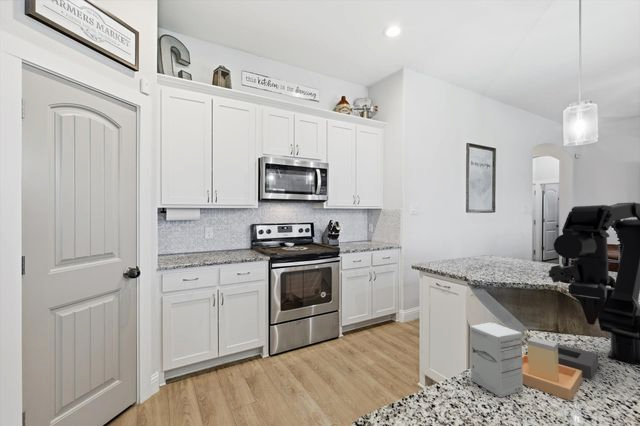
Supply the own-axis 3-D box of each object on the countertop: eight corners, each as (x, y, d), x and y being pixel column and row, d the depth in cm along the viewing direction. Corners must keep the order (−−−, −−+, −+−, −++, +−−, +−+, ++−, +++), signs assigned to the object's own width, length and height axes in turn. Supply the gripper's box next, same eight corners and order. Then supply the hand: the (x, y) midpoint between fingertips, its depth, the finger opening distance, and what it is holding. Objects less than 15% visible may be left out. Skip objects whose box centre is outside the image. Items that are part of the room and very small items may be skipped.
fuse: (532, 370, 70) (531, 336, 71) (559, 379, 67) (557, 343, 67) (528, 374, 69) (527, 340, 69) (555, 383, 65) (554, 346, 65)
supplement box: (470, 381, 67) (468, 325, 68) (493, 374, 70) (491, 321, 70) (499, 399, 60) (497, 336, 61) (524, 391, 63) (522, 331, 63)
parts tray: (522, 362, 76) (522, 353, 76) (582, 381, 67) (582, 370, 67) (506, 378, 68) (505, 368, 68) (570, 401, 59) (570, 389, 59)
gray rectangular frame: (540, 350, 83) (540, 339, 83) (598, 366, 74) (598, 353, 74) (529, 361, 76) (528, 349, 77) (591, 379, 67) (590, 366, 67)
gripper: (559, 251, 85) (562, 306, 84) (540, 256, 73) (543, 320, 72) (614, 254, 76) (617, 315, 76) (602, 260, 64) (606, 332, 64)
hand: (594, 320), depth 72 cm, fingers open, 9 cm apart
